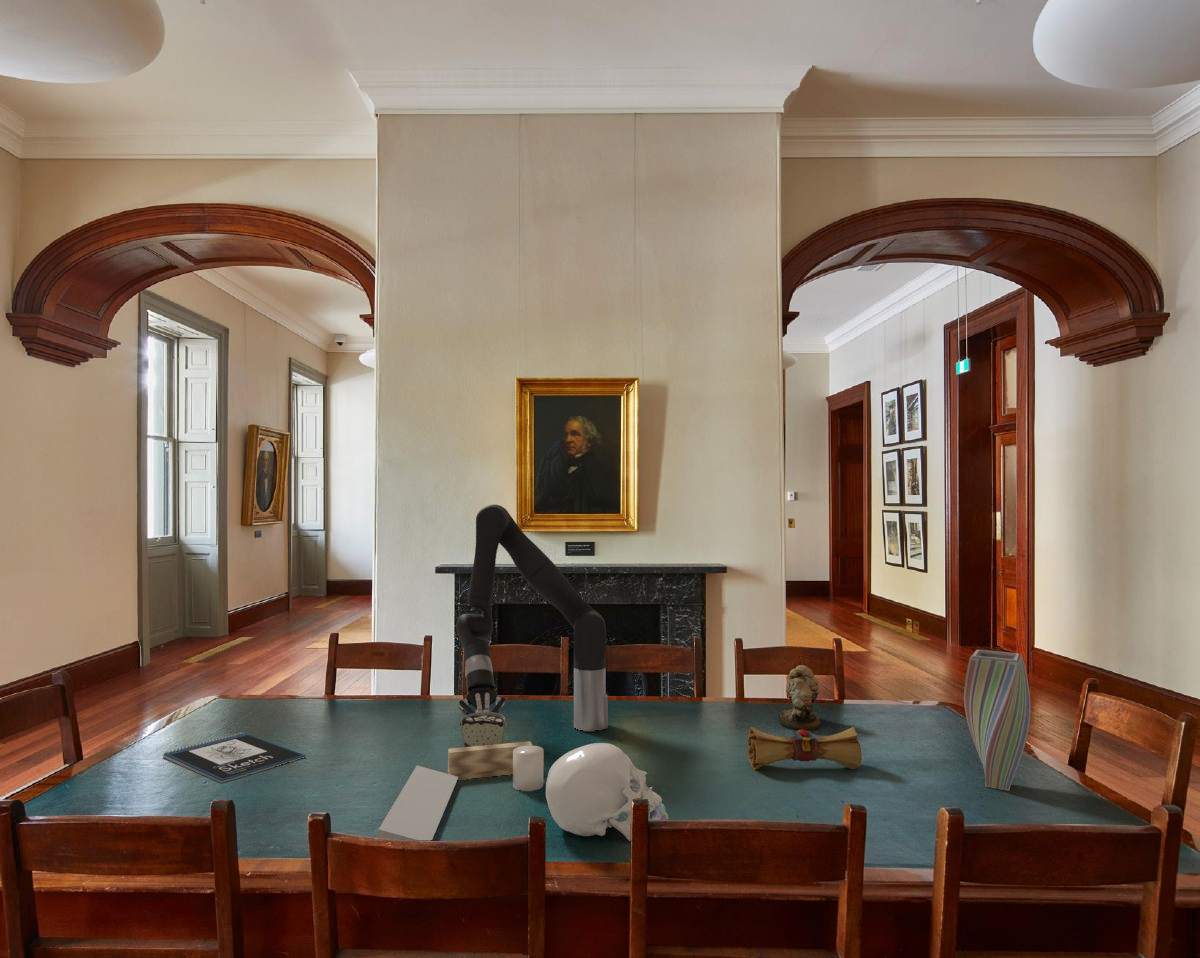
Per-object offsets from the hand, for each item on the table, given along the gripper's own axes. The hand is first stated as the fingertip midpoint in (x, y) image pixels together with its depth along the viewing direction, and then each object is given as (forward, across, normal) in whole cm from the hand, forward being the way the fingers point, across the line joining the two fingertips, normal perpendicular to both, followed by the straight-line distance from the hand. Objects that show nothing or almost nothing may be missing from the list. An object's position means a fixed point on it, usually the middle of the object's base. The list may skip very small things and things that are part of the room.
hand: (484, 733), depth 196 cm
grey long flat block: (+29, -18, -21) cm, 40 cm away
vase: (+43, +111, -36) cm, 124 cm away
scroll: (+27, +74, -20) cm, 81 cm away
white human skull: (+42, +17, -35) cm, 57 cm away
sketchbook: (-6, -62, +14) cm, 64 cm away
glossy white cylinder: (+22, +6, -15) cm, 27 cm away
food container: (+5, 0, +2) cm, 5 cm away
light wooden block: (+14, -1, -7) cm, 16 cm away
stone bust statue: (+3, +93, +4) cm, 93 cm away
